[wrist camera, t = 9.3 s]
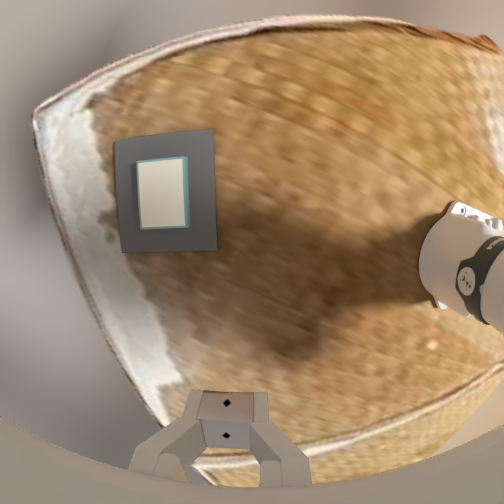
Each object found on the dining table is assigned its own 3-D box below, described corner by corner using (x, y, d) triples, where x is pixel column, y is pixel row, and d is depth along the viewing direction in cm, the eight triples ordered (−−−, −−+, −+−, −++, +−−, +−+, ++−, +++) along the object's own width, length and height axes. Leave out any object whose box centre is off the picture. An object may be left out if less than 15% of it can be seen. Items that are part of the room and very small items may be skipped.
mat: (213, 129, 34) (213, 129, 34) (217, 249, 38) (217, 250, 38) (116, 141, 34) (114, 140, 33) (123, 251, 38) (122, 252, 38)
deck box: (184, 156, 33) (136, 161, 33) (187, 227, 35) (140, 229, 35) (187, 157, 34) (141, 161, 34) (190, 225, 37) (144, 227, 37)
